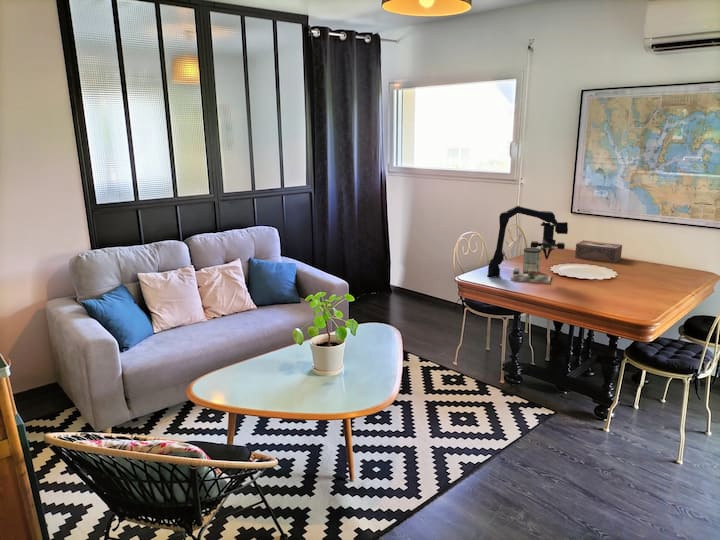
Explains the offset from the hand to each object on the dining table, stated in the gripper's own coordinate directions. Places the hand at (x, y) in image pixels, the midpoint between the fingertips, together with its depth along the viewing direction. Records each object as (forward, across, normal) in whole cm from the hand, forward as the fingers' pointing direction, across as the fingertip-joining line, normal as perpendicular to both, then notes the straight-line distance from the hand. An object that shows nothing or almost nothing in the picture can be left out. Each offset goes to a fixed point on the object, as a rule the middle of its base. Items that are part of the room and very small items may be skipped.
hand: (546, 259), depth 305 cm
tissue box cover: (+12, +32, +65) cm, 74 cm away
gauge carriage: (+10, -9, -5) cm, 14 cm away
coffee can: (+12, -9, +16) cm, 22 cm away
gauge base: (+12, -8, -3) cm, 15 cm away
